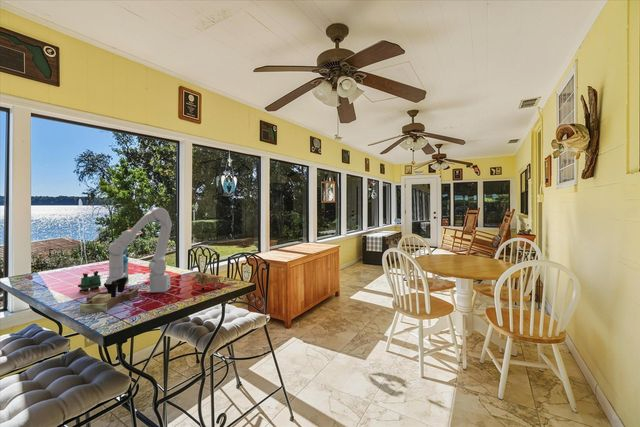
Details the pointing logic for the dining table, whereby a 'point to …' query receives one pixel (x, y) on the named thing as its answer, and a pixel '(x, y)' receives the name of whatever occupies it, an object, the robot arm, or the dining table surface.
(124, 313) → the dining table surface
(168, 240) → the robot arm
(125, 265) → the beverage bottle
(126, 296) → the trap lane
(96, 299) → the beech block
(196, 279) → the lion figurine
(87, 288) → the green toy train
